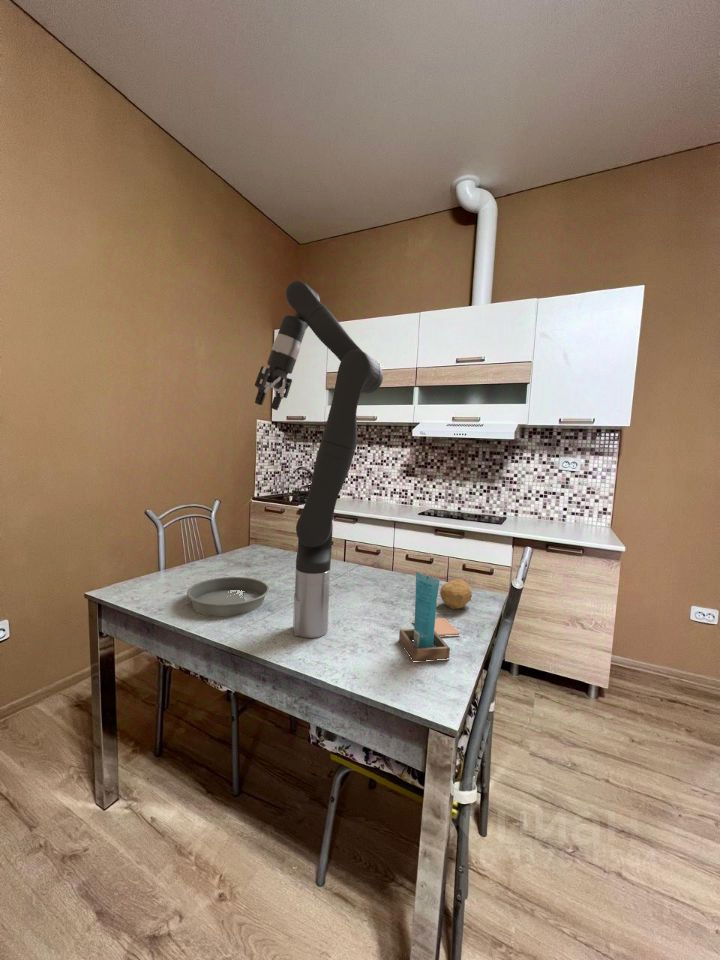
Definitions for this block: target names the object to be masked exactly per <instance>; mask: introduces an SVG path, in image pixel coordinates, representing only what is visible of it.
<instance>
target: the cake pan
mask: <svg viewBox="0 0 720 960" xmlns="http://www.w3.org/2000/svg"><path fill="white" fill-rule="evenodd" d="M230 590H240V591H241V590H242V591H250V592H249V593H253V594H256V595H257V597H254V598H252V599H249V600H246V599H245V595H243V596H242V595H241V596H242V597H243V598H242V597H241V596H239V594H240V593H239V594H236V593H237V591H236V592H232V593H230ZM228 591H229V593H228ZM269 592H270V586H269V585H268V584H267V582H265V581H262V580H260V579H257V578H254V577H246V576H245V577H244V576H226V577H225V576H223V577H216V578H210V579H206V580H203V581H200V582H197V583H196V584H194V585H191V586H190V587H189V588H188V590H187V591H186V596H187V598H188V599H189V600H191V605H192V606H191V607H192V608H193V610H195V611H196V610H197V611H198V613H200V612H201V613H200V614H202V613H204V614H203V615H206V614H207V615H208V616H213V615H214V617H215V616H217V617H218V616H219V617H225V616H226V617H229V616H237V615H242V614H247V613H249V612H252V611H254V610H257V609H259V608H260V607H261V606H262V605H263V603H265V602H264V601H265V598H266V596H267V595H268V594H269ZM234 594H235V595H234ZM230 595H231V596H230ZM227 596H228V597H227ZM240 597H241V598H240ZM197 611H196V612H197Z"/></svg>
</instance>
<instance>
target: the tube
mask: <svg viewBox="0 0 720 960" xmlns="http://www.w3.org/2000/svg"><path fill="white" fill-rule="evenodd" d="M440 581H441V580H440V579H438V578H435V577H432V576H429V575H426V574H423V573H421V572H418V571H415V601H414V602H415V603H414V606H415V607H414V620H415V623H413V625H414V627H413V629H414V641H413V645H414V646H415V648H416V649H417V648H432V647H434V645H433V641H434V627H435V619H436V617H437V615H436V613H437V604H438V596H439V595H438V594H439V589H440V588H439V587H440Z"/></svg>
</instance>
